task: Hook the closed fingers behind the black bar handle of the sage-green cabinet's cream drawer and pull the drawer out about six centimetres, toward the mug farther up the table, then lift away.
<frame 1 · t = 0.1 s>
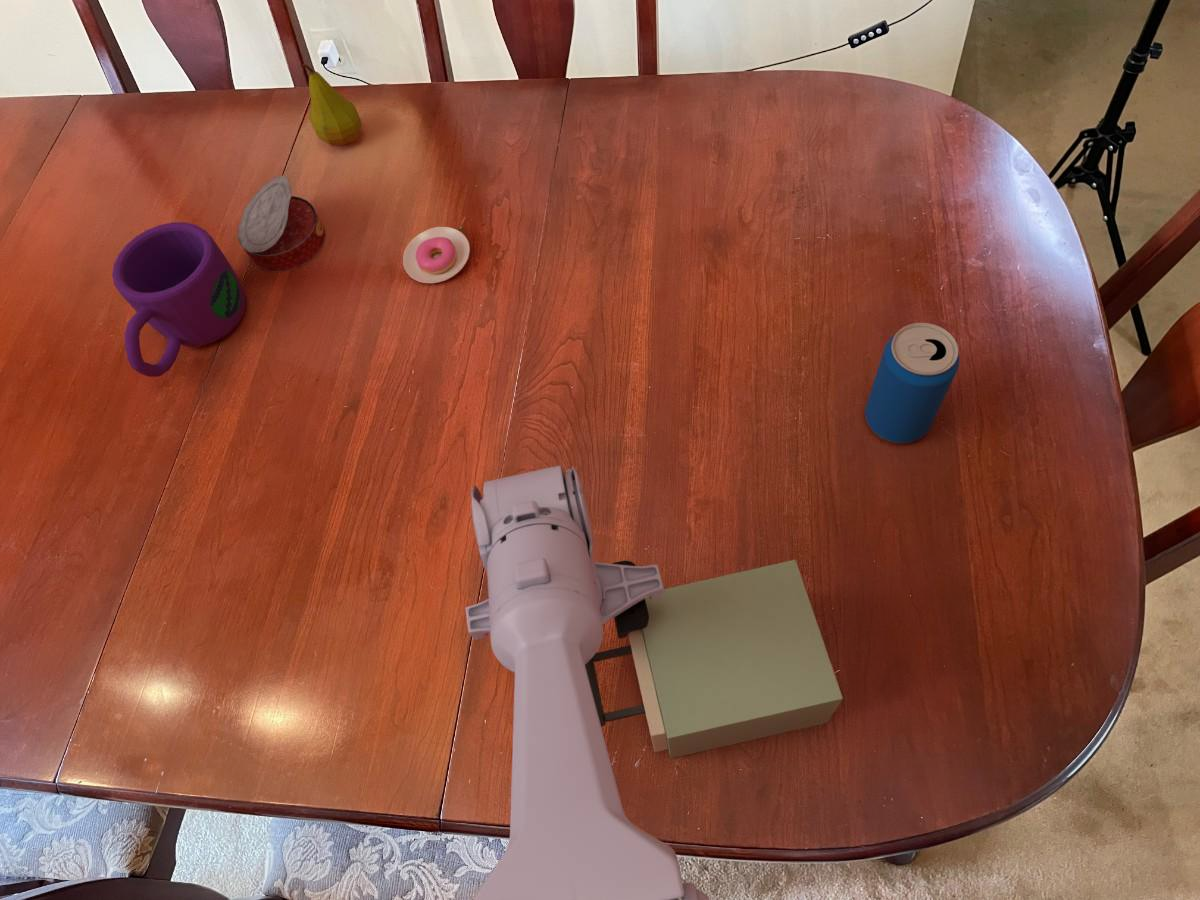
hand: (578, 635, 70), 7 cm above the table, tool pointing down, fingers open, 6 cm apart
canned food: (287, 243, 106), on the table
fruit: (344, 140, 115), on the table
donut: (442, 251, 103), on the table
mug: (197, 337, 100), on the table
beverage can: (896, 420, 85), on the table
cabinet: (730, 673, 74), on the table
drawer: (684, 670, 70), point 4 cm above the table, slide at 0.0 cm, touching gripper
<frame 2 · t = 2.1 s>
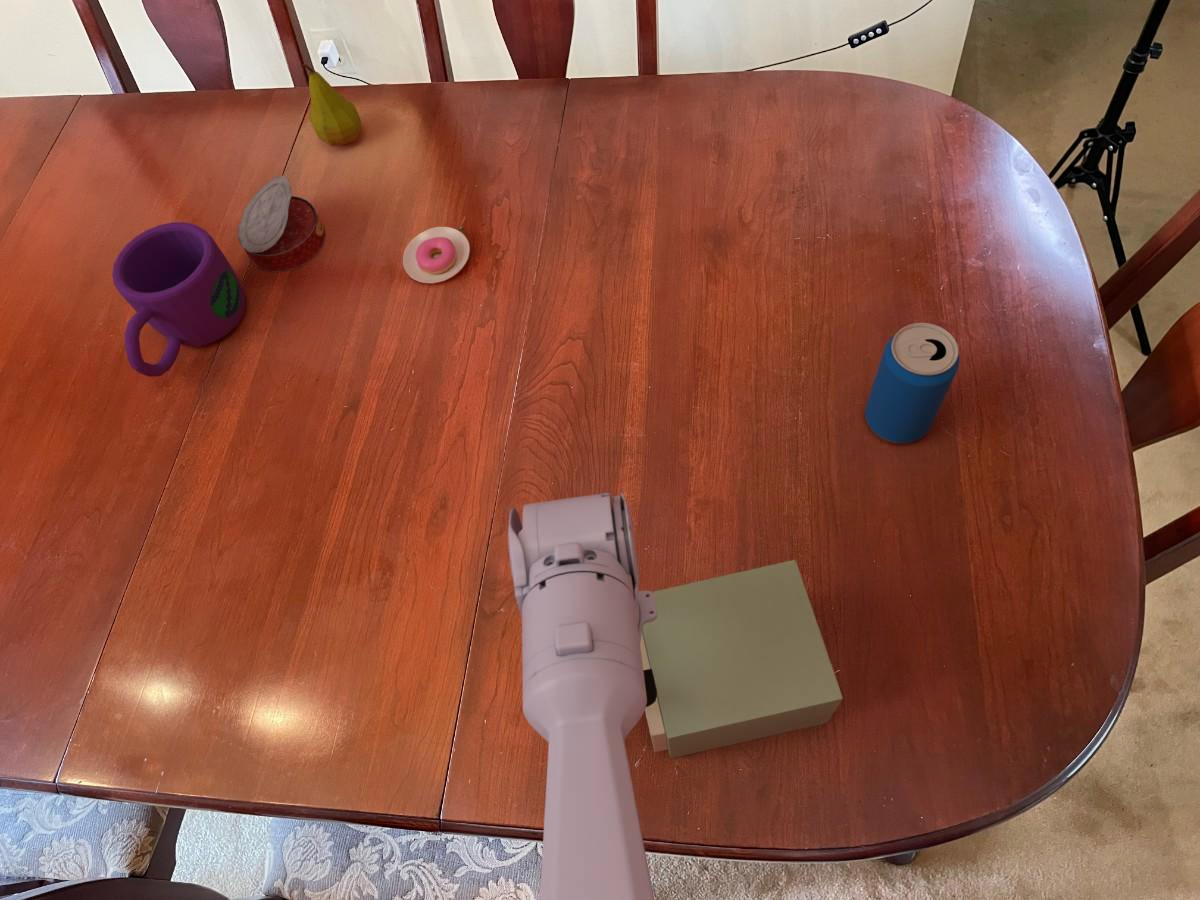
hand: (608, 646, 66), 10 cm above the table, tool pointing down, fingers open, 7 cm apart
drawer: (684, 670, 70), point 4 cm above the table, slide at 0.0 cm
everything else where it was.
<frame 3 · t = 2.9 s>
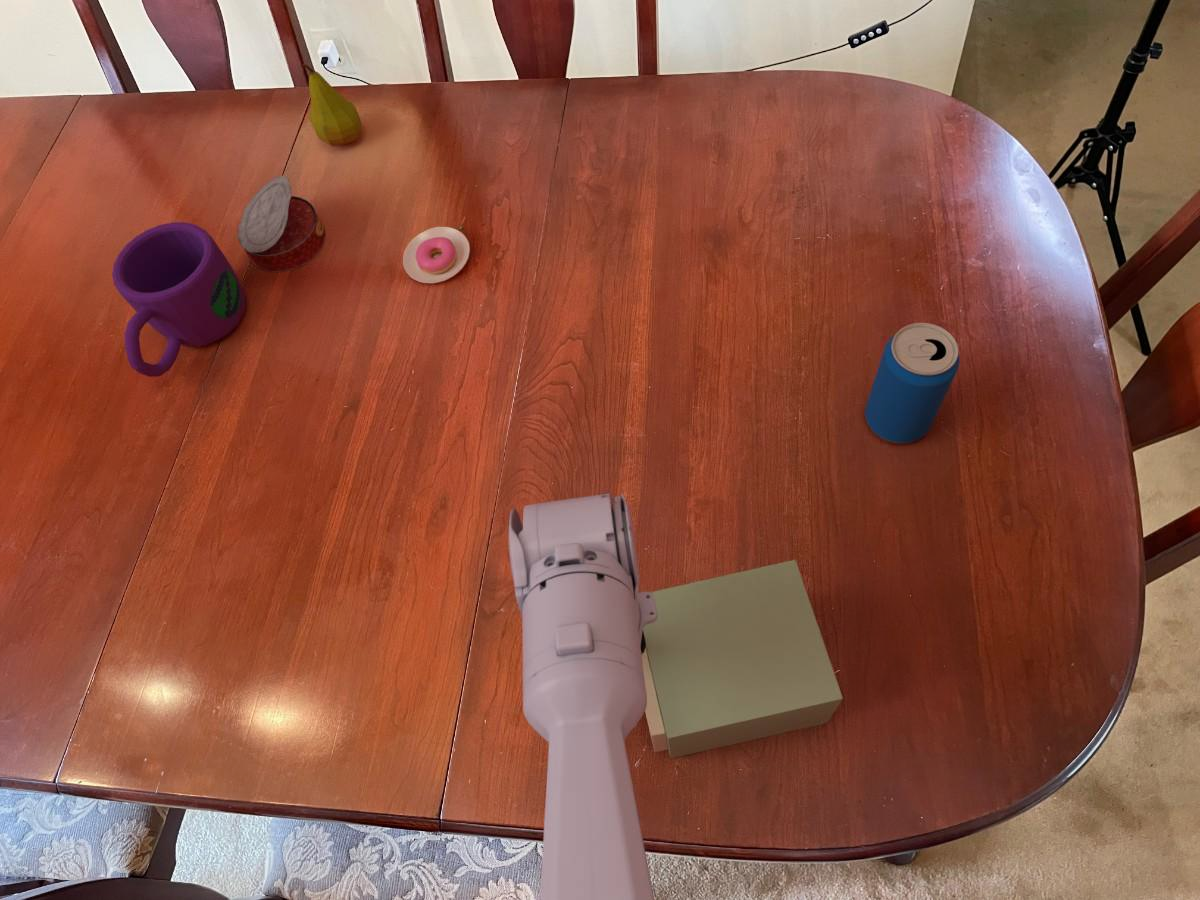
hand: (609, 647, 66), 10 cm above the table, tool pointing down, fingers closed
nothing on the table moved.
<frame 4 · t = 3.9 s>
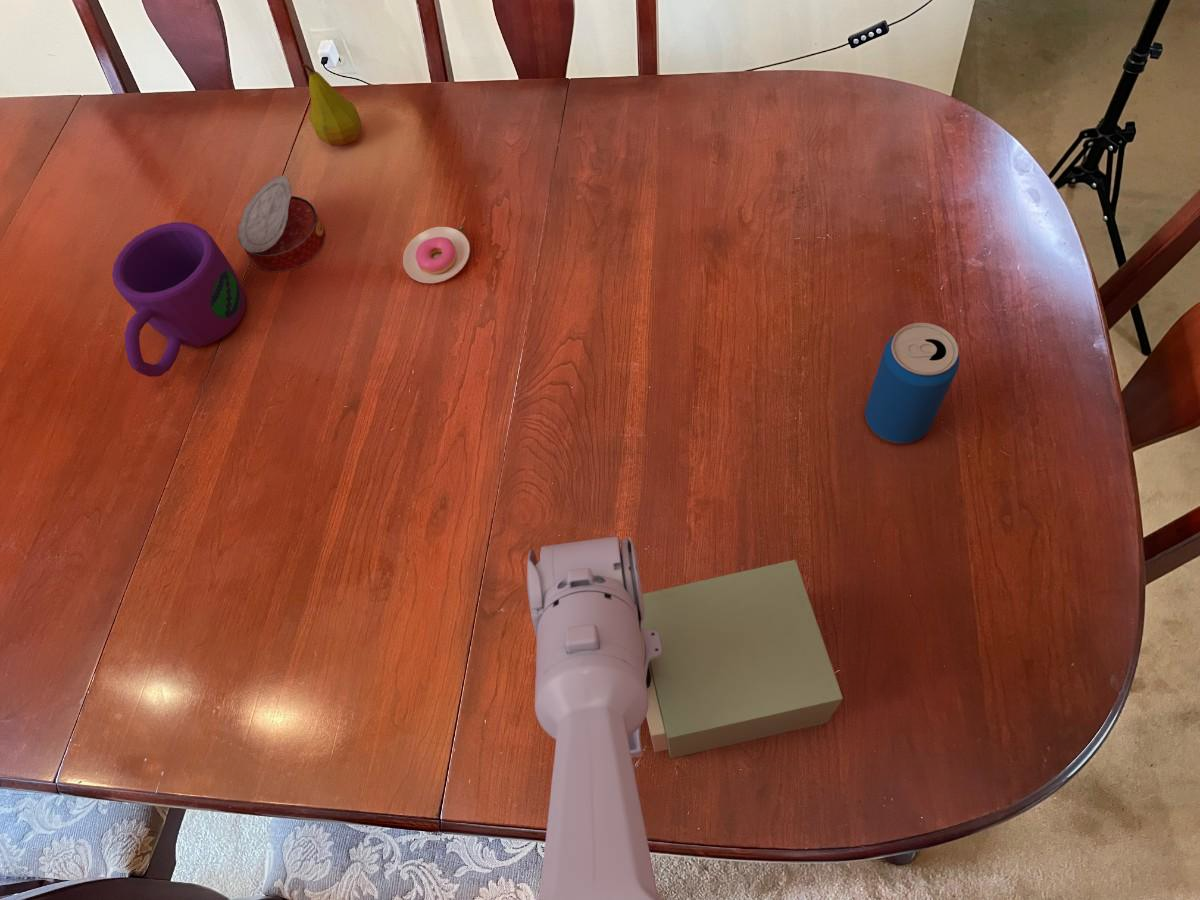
hand: (616, 684, 70), 5 cm above the table, tool pointing down, fingers closed, pressing on drawer
drawer: (684, 670, 70), point 4 cm above the table, slide at 0.0 cm, touching cabinet, gripper
everything else where it was.
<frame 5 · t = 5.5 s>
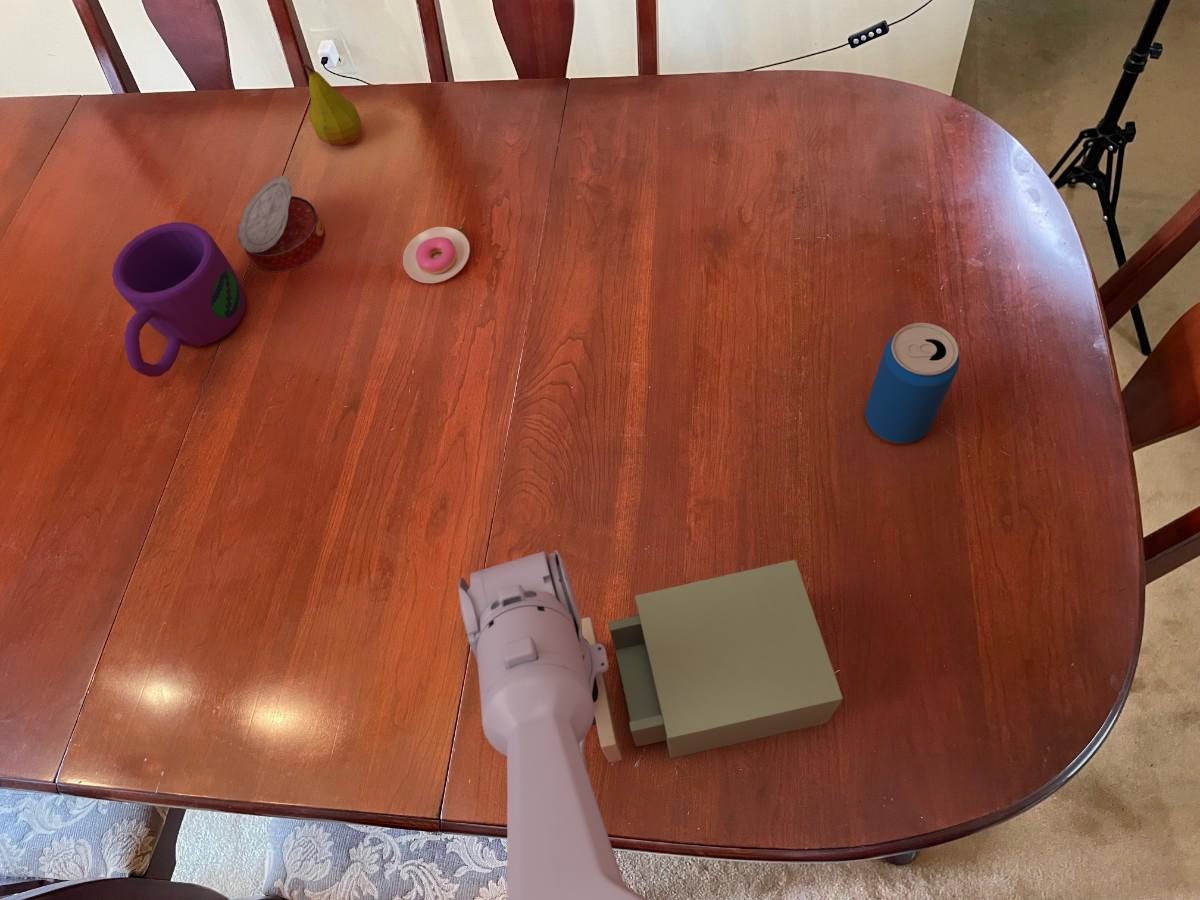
hand: (569, 696, 71), 4 cm above the table, tool pointing down, fingers closed, pressing on drawer
drawer: (638, 681, 70), point 4 cm above the table, slide at 3.9 cm, touching gripper
everything else where it was.
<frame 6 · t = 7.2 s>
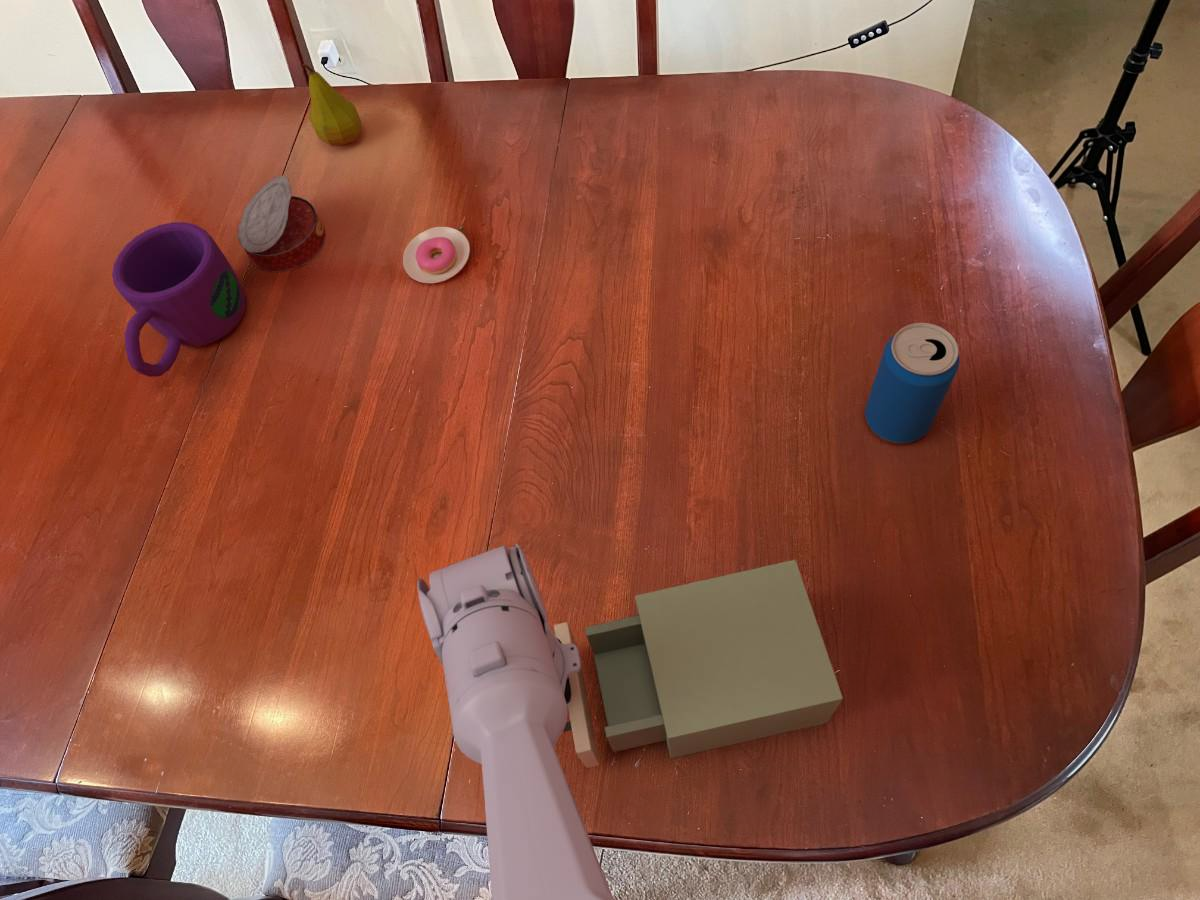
hand: (544, 698, 69), 6 cm above the table, tool pointing down, fingers closed
drawer: (615, 686, 70), point 4 cm above the table, slide at 5.9 cm
everything else where it was.
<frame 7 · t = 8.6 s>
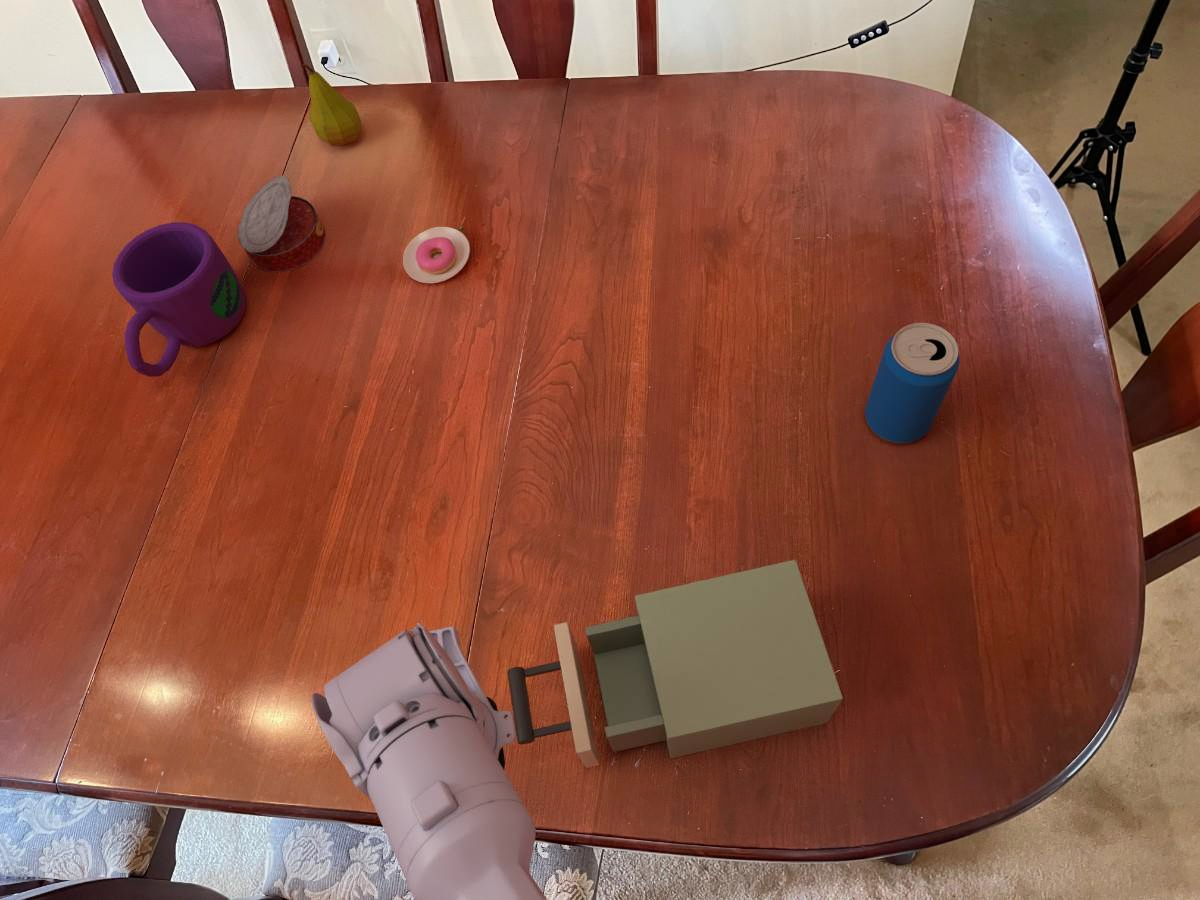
hand: (477, 753, 63), 10 cm above the table, tool pointing down, fingers closed
nothing on the table moved.
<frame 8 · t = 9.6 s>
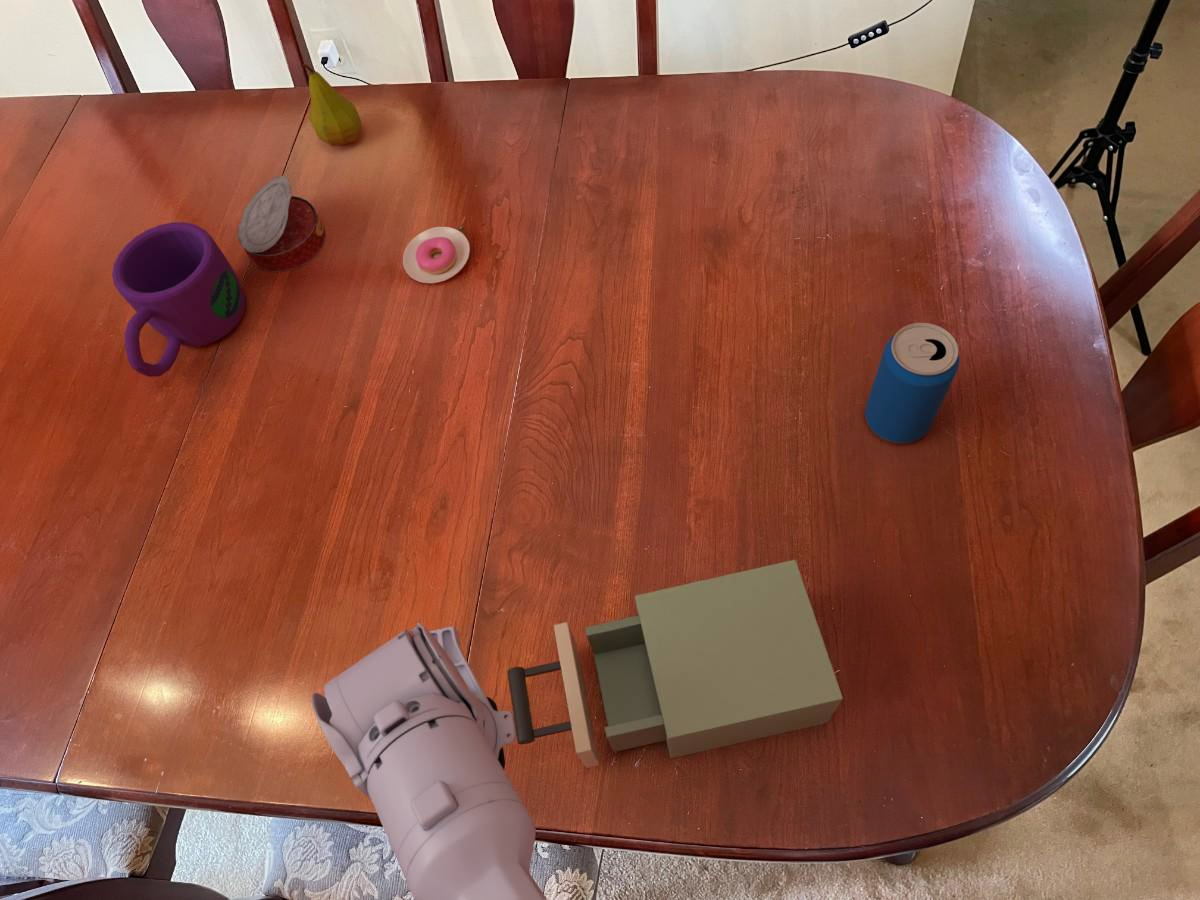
hand: (477, 753, 63), 10 cm above the table, tool pointing down, fingers closed
nothing on the table moved.
at the end: drawer slide at 5.9 cm; drawer 68.2 cm from the mug (horizontally) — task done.
